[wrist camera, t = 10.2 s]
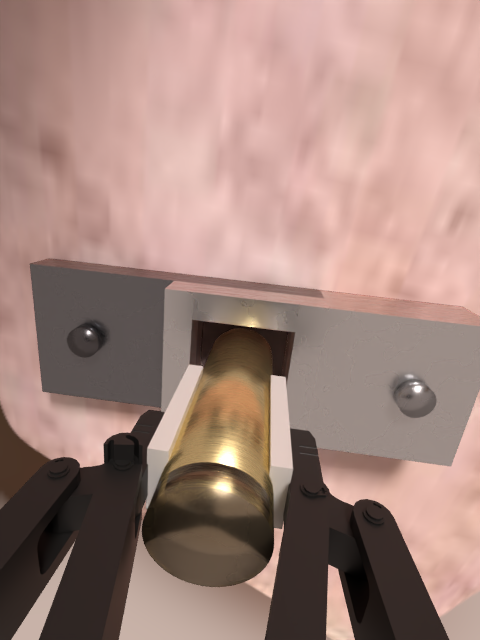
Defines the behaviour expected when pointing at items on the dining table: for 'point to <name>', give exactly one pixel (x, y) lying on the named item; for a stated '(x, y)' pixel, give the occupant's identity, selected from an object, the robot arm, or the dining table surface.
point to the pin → (219, 472)
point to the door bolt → (299, 360)
